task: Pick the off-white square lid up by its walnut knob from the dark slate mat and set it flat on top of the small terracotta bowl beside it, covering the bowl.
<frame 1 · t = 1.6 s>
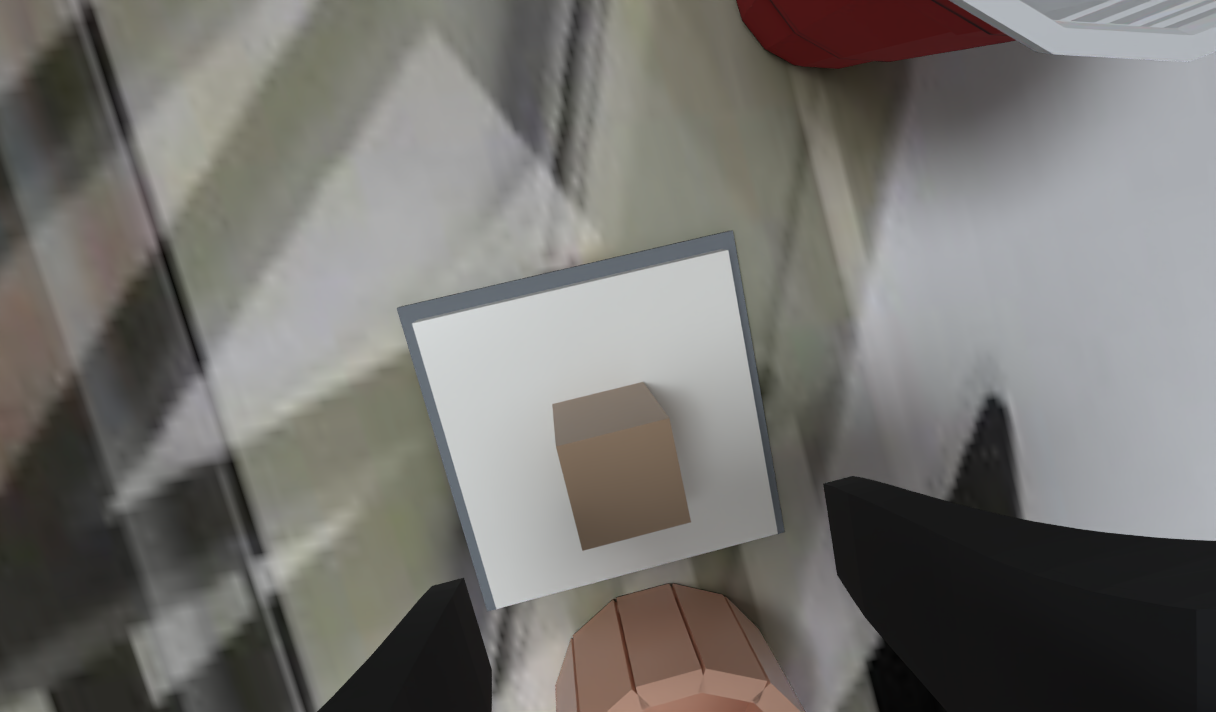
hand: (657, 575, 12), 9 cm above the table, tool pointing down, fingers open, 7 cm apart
bowl: (664, 682, 23), on the table
lid: (605, 428, 21), resting on mat
mat: (604, 425, 21), on the table
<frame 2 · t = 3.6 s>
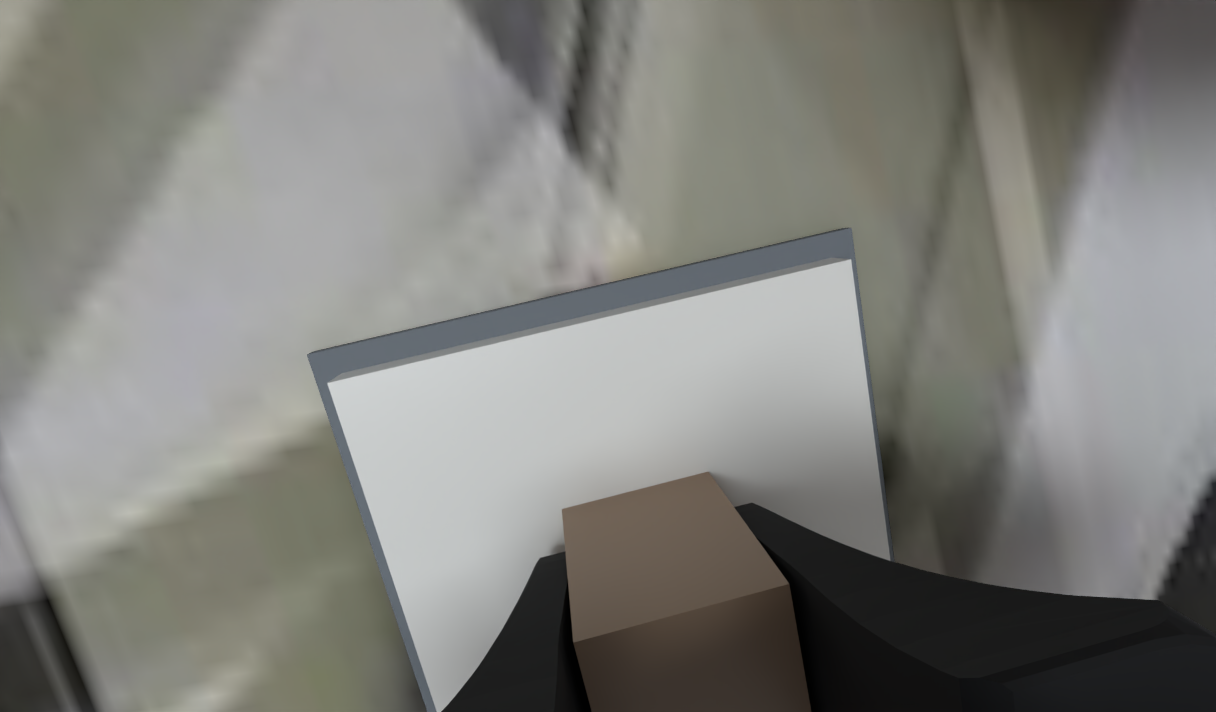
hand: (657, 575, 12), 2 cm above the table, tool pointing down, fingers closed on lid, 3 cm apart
lid: (643, 537, 13), resting on mat, touching gripper
mat: (641, 531, 13), on the table
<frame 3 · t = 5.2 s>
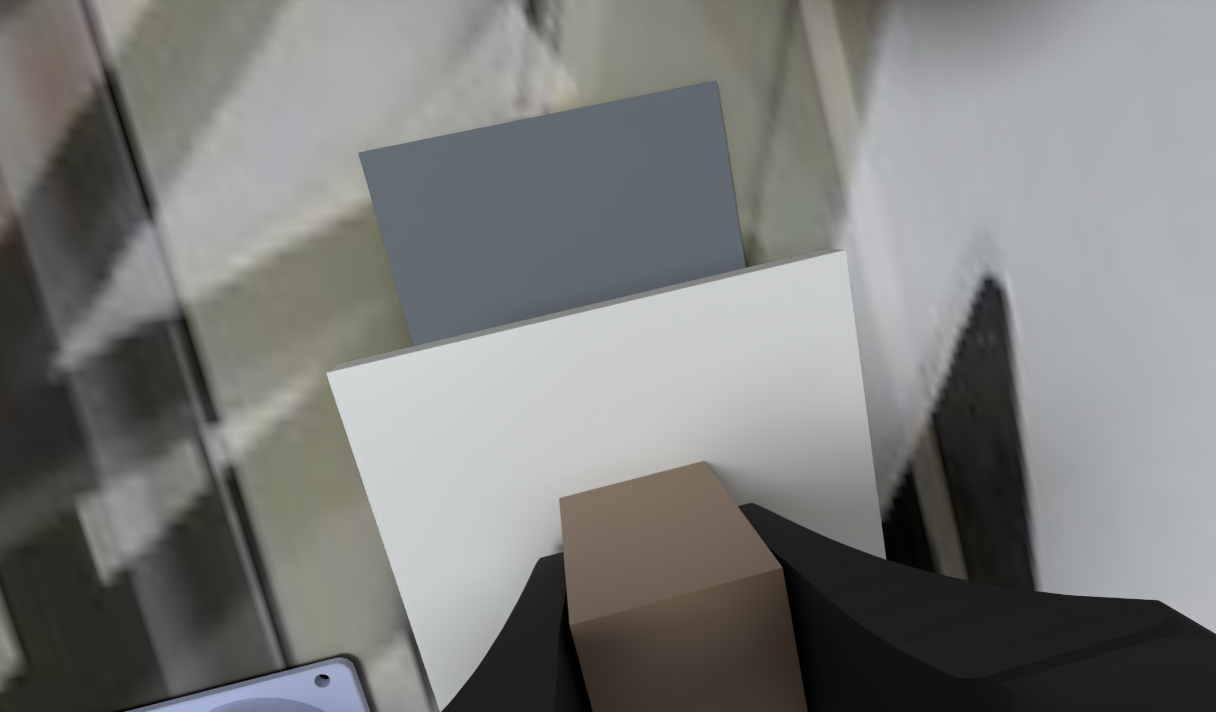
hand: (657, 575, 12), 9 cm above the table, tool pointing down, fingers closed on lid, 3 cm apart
lid: (640, 527, 13), point 8 cm above the table, touching gripper
mat: (579, 293, 20), on the table
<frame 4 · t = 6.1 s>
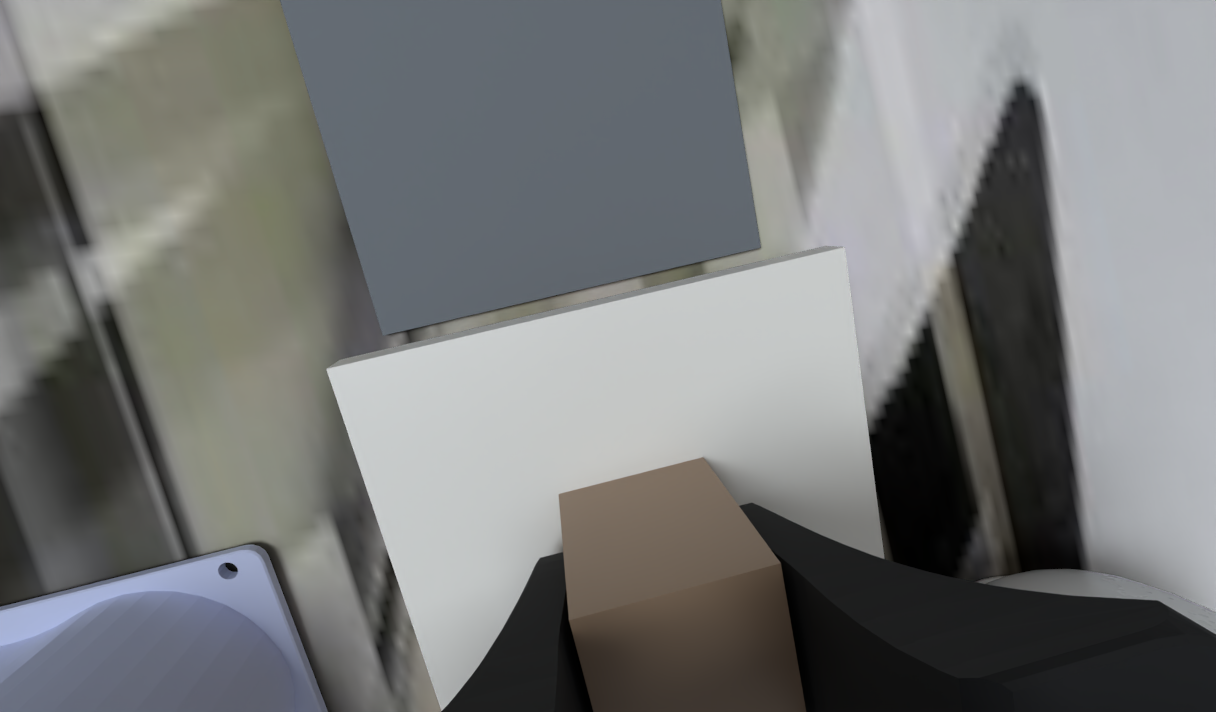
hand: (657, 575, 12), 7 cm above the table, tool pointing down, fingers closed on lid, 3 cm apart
lidded jar: (984, 649, 22), on the table
lid: (639, 523, 13), point 5 cm above the table, touching gripper
mat: (528, 90, 16), on the table
when the fingers open (7 cm above the table, at t = 6.8 s): lid stays where it is, resting on bowl.
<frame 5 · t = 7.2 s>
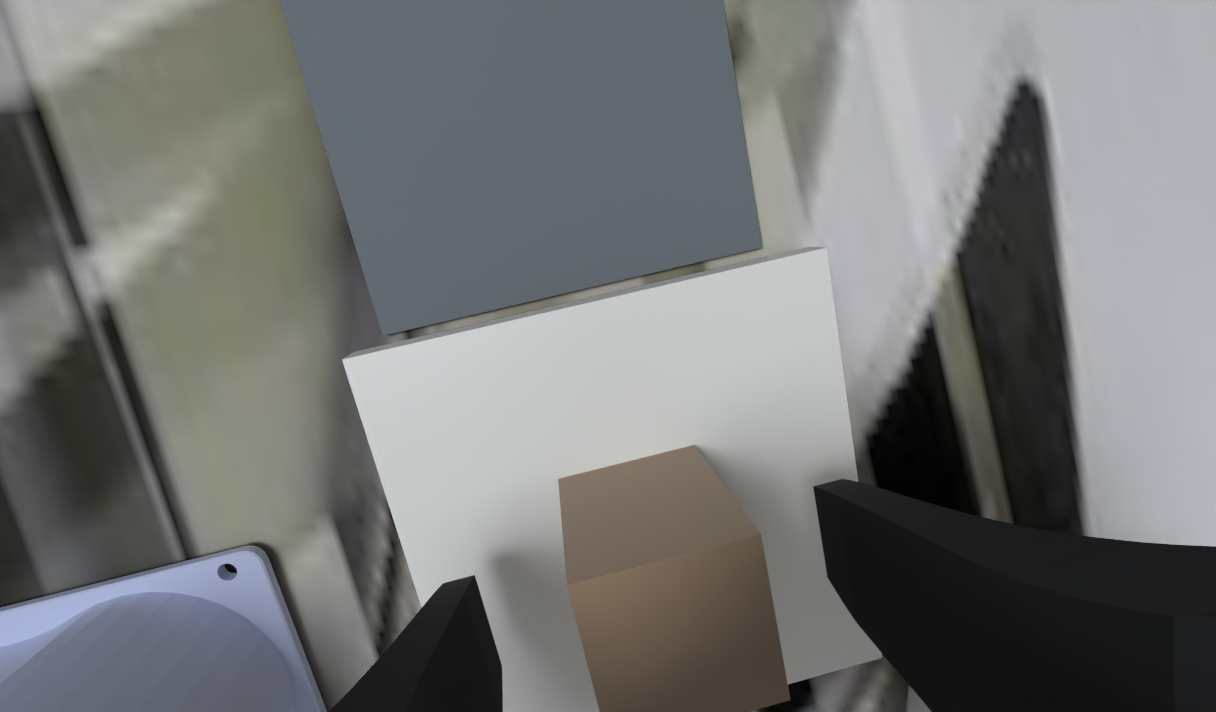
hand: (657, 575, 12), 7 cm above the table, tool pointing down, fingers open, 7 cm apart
lidded jar: (987, 650, 22), on the table
lid: (635, 508, 14), point 4 cm above the table, touching bowl
mat: (529, 88, 16), on the table
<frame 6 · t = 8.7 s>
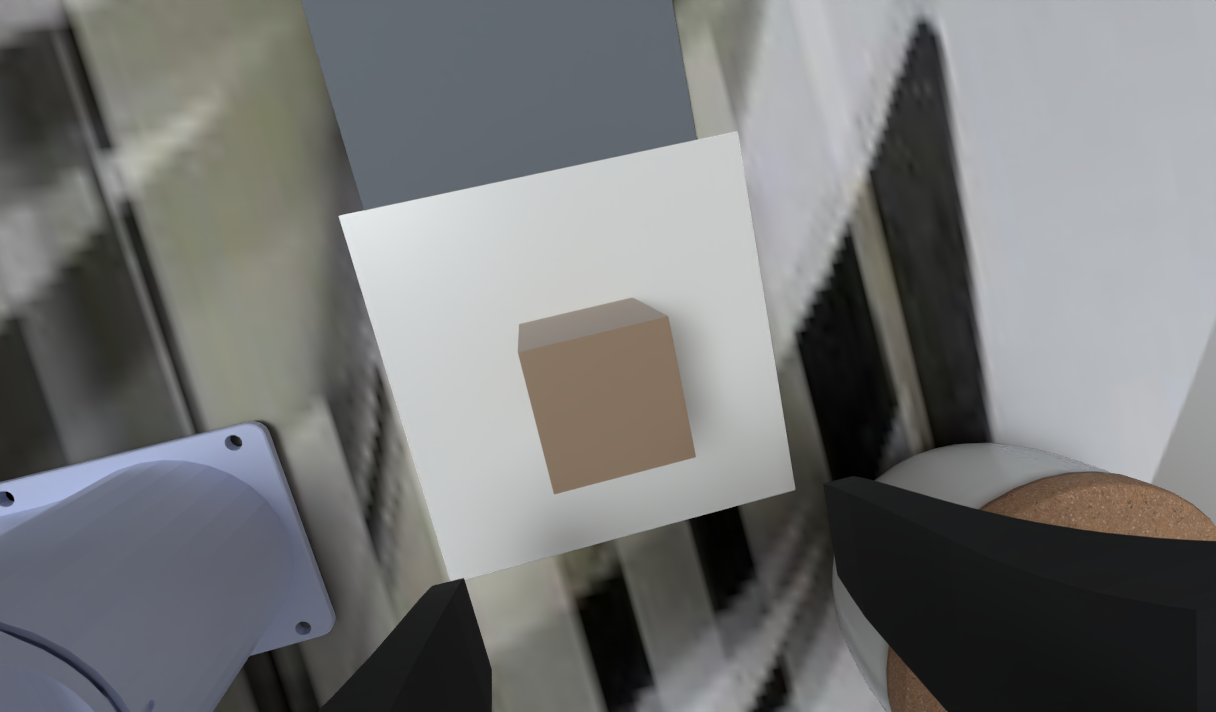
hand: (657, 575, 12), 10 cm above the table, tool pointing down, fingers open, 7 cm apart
lidded jar: (908, 531, 25), on the table
lid: (585, 360, 17), point 4 cm above the table, touching bowl
mat: (497, 18, 19), on the table
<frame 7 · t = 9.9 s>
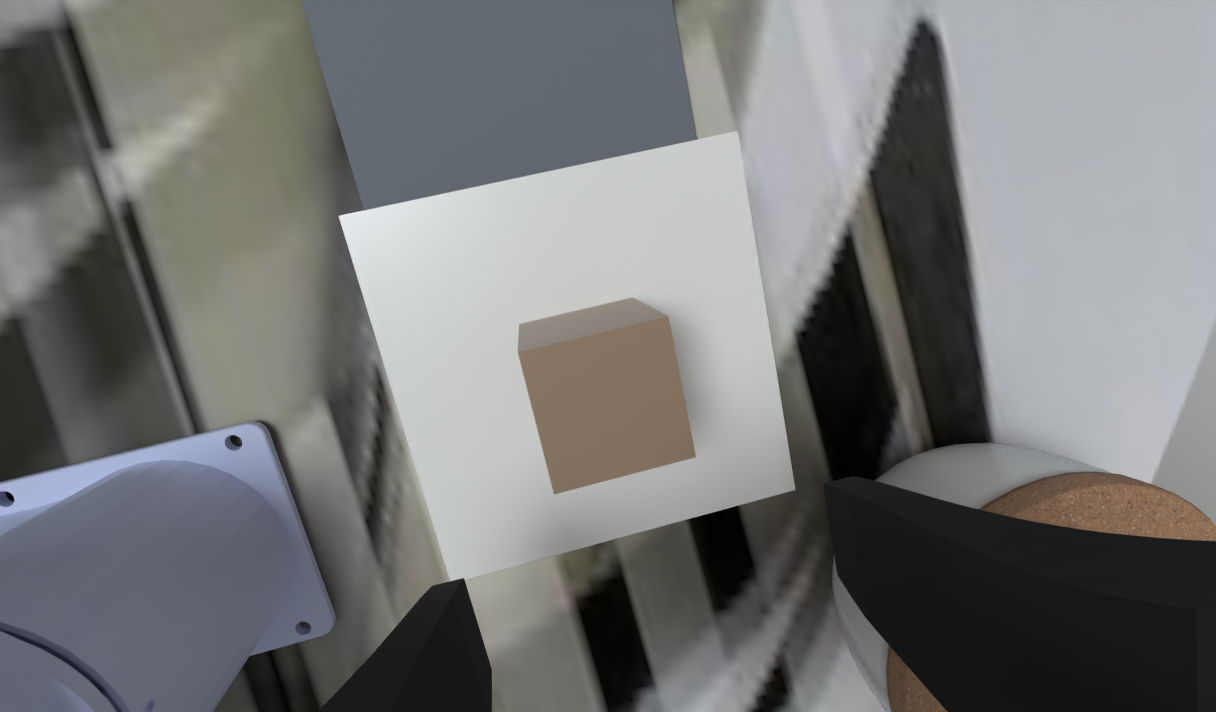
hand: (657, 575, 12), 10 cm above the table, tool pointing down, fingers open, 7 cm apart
lidded jar: (908, 531, 25), on the table
lid: (585, 360, 17), point 4 cm above the table, touching bowl
mat: (497, 18, 19), on the table
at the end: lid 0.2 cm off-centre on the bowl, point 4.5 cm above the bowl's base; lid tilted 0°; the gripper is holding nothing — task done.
